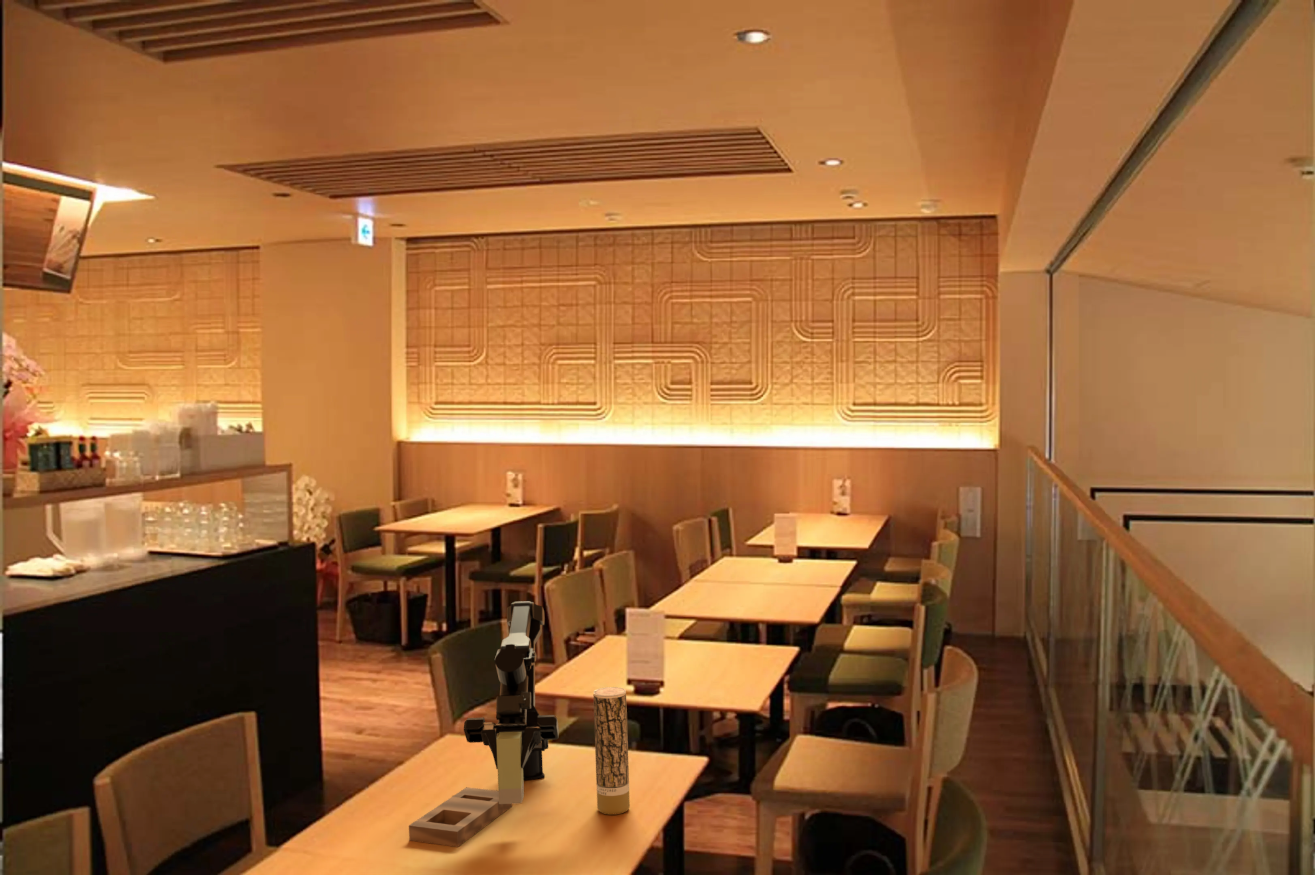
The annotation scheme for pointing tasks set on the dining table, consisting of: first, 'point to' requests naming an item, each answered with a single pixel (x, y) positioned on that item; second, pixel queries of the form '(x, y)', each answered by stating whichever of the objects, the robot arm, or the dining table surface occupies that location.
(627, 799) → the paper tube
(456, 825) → the socket board
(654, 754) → the dining table surface
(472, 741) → the robot arm
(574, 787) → the dining table surface
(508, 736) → the square bit
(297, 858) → the dining table surface
